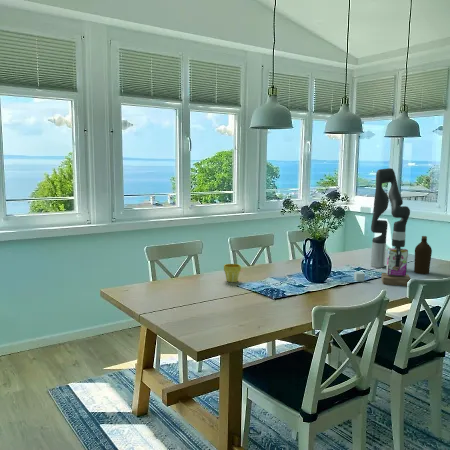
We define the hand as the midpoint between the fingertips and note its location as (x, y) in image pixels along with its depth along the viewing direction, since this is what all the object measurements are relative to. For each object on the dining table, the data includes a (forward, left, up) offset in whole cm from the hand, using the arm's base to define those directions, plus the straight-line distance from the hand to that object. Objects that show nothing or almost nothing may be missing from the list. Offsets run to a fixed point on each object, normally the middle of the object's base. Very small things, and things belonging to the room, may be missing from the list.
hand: (396, 265), depth 289 cm
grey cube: (+2, -22, -11) cm, 25 cm away
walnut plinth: (0, 0, -11) cm, 11 cm away
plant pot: (+28, -98, -11) cm, 102 cm away
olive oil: (-33, +20, -11) cm, 40 cm away
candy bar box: (0, 0, -6) cm, 6 cm away
